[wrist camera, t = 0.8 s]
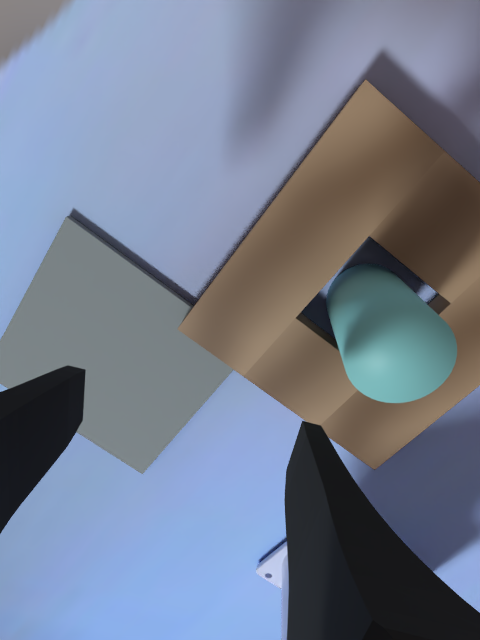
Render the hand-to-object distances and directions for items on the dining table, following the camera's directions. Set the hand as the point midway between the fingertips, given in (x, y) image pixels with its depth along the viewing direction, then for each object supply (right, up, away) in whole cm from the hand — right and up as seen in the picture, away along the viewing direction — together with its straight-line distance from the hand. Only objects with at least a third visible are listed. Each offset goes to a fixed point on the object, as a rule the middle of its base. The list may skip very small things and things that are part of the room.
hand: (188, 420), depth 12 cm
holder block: (+8, +4, +8) cm, 12 cm away
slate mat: (-6, +1, +11) cm, 12 cm away
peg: (+8, +4, +8) cm, 12 cm away
